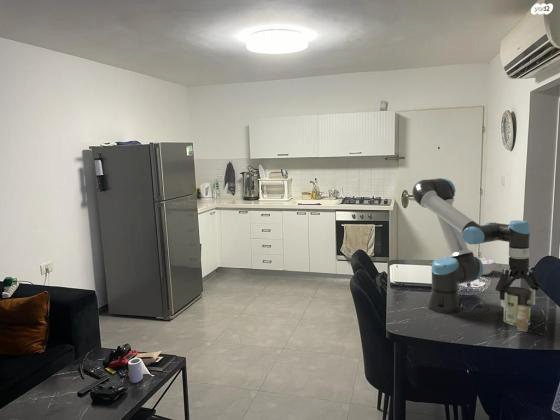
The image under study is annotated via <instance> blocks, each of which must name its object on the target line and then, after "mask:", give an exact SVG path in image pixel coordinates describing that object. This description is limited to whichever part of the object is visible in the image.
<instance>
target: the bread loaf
mask: <svg viewBox="0 0 560 420" xmlns="http://www.w3.org/2000/svg"><path fill="white" fill-rule="evenodd" d="M528 318H529V307H528V306H526V305H518V310H517V326H516V330H517V331H519V332H523V333H524V332H525V333H526V332H528V331H529V325H528Z"/></svg>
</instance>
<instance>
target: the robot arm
mask: <svg viewBox="0 0 560 420" xmlns="http://www.w3.org/2000/svg"><path fill="white" fill-rule="evenodd" d="M455 193H456V186H455V185H454V183H453V181H451V180H449V179H447V178H439V177H438V178H432V179H431V178H430V179H429V178H428V179H421V180H419V181H417V182H416V183H415V184H414V186H413V187H412V197H413V199H414V201H415V202H416V203H417V204H418V205H419V206H421V207H422V208H424V209H425V208H426V209H428V210H429V211H431V212H432V213H433V214H435V215H436V216H437V219H438V223H439V224H440V229H441V231H442V234H443V237H444V239H445V242H446V245H447V248H448V251H449V256H448V257H440V258H436V259H434V260H433V261H432V262H431V263H432V265H431V292H430V294H429V298H428V300H427V307H428V309H430V308H431V309H430V310H432V309H433V310H432V311H434V310H435V311H434V312H437V311H438V312H439V313H444V314H454V313H459V312H460V311H462V310H463V309H462V306H463V305H462V301H461V298H460V295H459V285H461V284H467V283H471V282H475V281H477V280H479V279H480V278H481V277H482V276H483V275H482V273H483V264H482V262H481V260H480V259H478V258H479V257H477V256H475V254H474V252H473V250H470V249H469V248H468V245H480V244H484V243H489V242H497V241H498V242H499V241H501V242H507V243H508V256H509V257H508V266H509V268H508V269H506V268H503V269H502V272H501V275H500V277H499V280H498V281H497V284H496V286H495V288H494V289H495V291H497V292H499V299H500V307H502V308H503V309H504V308H507V293H506V291H507V289H508V288H509V287H511V285H512V284H513V283H514V281H516V280H520V279H521V280H522V279H523V280H524V281H525V282H526V283H527V285H528V286H529V288H528V290H530V291H531V292H532V293H531V305H533V306H534V305H536V297H537V291H539V289H540V288H542V285H541V283H540V281H539V277H538V276H537V274H536V270H535V269H536V268H535V267H534V266H530V258H529V257H530V236H531V235H530V234H531V230H530V229H531V227H530V223H529V221H527V220H511V221H509V224H506V223H500V222H499V223H498V222H486V223H485V224H484V225H483V224H482V225H480V224H479V223H477V222H475V221H474V220H472V218H470V217H468V215H466V214H464V213H463V212H461V211H460V210H459V209H457V208H456V207H454V206H453V204H454V202H455V198H454V197H455V195H456V194H455ZM528 274H529V275H528Z"/></svg>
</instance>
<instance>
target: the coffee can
mask: <svg viewBox="0 0 560 420" xmlns="http://www.w3.org/2000/svg"><path fill="white" fill-rule="evenodd" d="M506 293H507V308H504V307H503V320H502V321H503V322H504V323H506V324H509V325H511V326H515V327H517V310H518V305H526V306H528V307H529V318H528V326H530V325H531V309H532V307H531V306H532V304H531V293H532V292H531V291H530V290H529V288H526V287H519V286H510V287H509V288H508V289H507V291H506Z"/></svg>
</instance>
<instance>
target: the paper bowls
mask: <svg viewBox="0 0 560 420" xmlns="http://www.w3.org/2000/svg"><path fill="white" fill-rule="evenodd" d="M477 258H478V259H480V260H481V262H482V264H483V273H482V275H481V276H486V275H490V274H491V273H492V271H495V270H496V261H495V260H494V259H492V258H487V257H477Z"/></svg>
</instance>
